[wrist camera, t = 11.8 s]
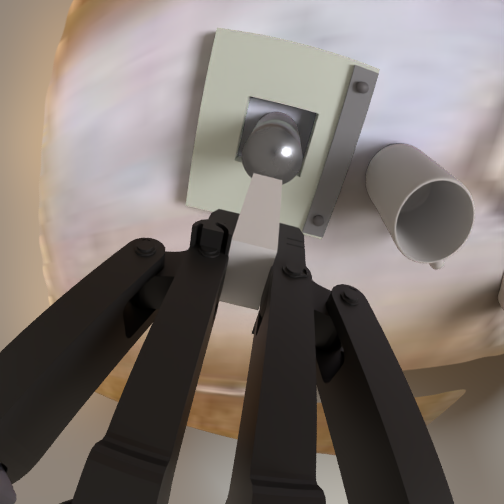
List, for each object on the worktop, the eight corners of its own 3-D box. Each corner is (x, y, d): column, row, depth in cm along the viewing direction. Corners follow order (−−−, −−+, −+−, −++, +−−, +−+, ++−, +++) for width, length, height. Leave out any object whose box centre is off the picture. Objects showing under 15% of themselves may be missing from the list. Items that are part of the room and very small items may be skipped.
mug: (353, 159, 31) (379, 199, 22) (419, 132, 28) (467, 162, 19) (386, 244, 36) (411, 302, 27) (443, 219, 33) (482, 270, 24)
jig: (221, 30, 25) (214, 26, 22) (374, 69, 25) (382, 69, 23) (190, 198, 36) (183, 209, 34) (320, 230, 36) (322, 243, 34)
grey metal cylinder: (260, 107, 29) (248, 122, 21) (303, 118, 29) (309, 137, 21) (250, 147, 32) (236, 178, 24) (292, 158, 32) (293, 192, 24)
